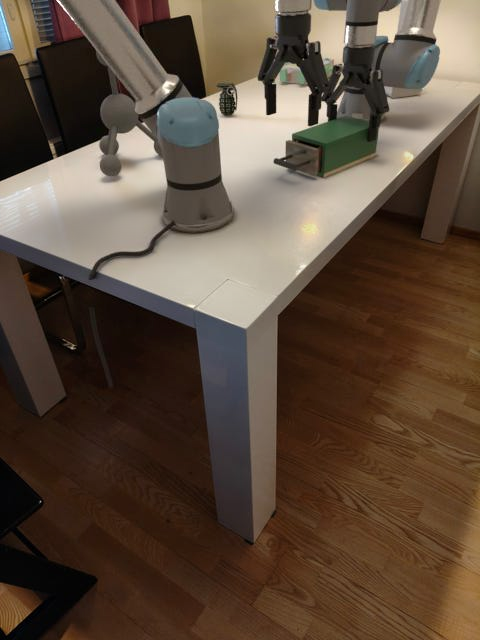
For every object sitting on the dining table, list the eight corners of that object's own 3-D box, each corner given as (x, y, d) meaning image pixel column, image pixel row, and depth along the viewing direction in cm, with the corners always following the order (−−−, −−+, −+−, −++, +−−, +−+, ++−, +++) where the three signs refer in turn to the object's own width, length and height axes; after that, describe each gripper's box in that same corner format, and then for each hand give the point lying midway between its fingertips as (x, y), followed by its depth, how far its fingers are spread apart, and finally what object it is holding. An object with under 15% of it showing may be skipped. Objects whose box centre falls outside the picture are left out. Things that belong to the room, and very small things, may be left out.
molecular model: (186, 167, 131) (171, 41, 113) (104, 183, 125) (74, 52, 107) (164, 142, 149) (148, 29, 130) (91, 155, 143) (64, 38, 125)
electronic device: (391, 98, 176) (404, -1, 158) (381, 93, 182) (392, -2, 163) (421, 94, 178) (438, -4, 160) (410, 90, 184) (425, -5, 166)
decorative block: (302, 55, 216) (343, 58, 206) (301, 71, 220) (342, 74, 210) (270, 66, 200) (313, 70, 190) (270, 83, 204) (313, 88, 194)
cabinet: (323, 177, 122) (325, 143, 117) (291, 166, 129) (291, 133, 124) (375, 155, 132) (379, 123, 127) (342, 146, 139) (345, 115, 134)
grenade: (217, 117, 168) (214, 86, 162) (221, 112, 172) (219, 82, 166) (235, 117, 166) (233, 86, 160) (239, 113, 171) (238, 82, 165)
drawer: (298, 183, 117) (298, 156, 113) (269, 172, 124) (268, 146, 120) (364, 155, 130) (367, 130, 126) (335, 147, 136) (336, 123, 132)
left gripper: (352, 13, 95) (343, 125, 108) (265, 8, 111) (266, 106, 124) (327, 18, 91) (320, 133, 105) (240, 11, 107) (244, 113, 120)
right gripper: (413, 47, 112) (398, 141, 124) (330, 38, 127) (325, 123, 140) (393, 52, 108) (380, 148, 121) (310, 42, 123) (307, 129, 136)
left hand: (291, 119), depth 114 cm, fingers open, 13 cm apart
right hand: (350, 135), depth 130 cm, fingers open, 13 cm apart
